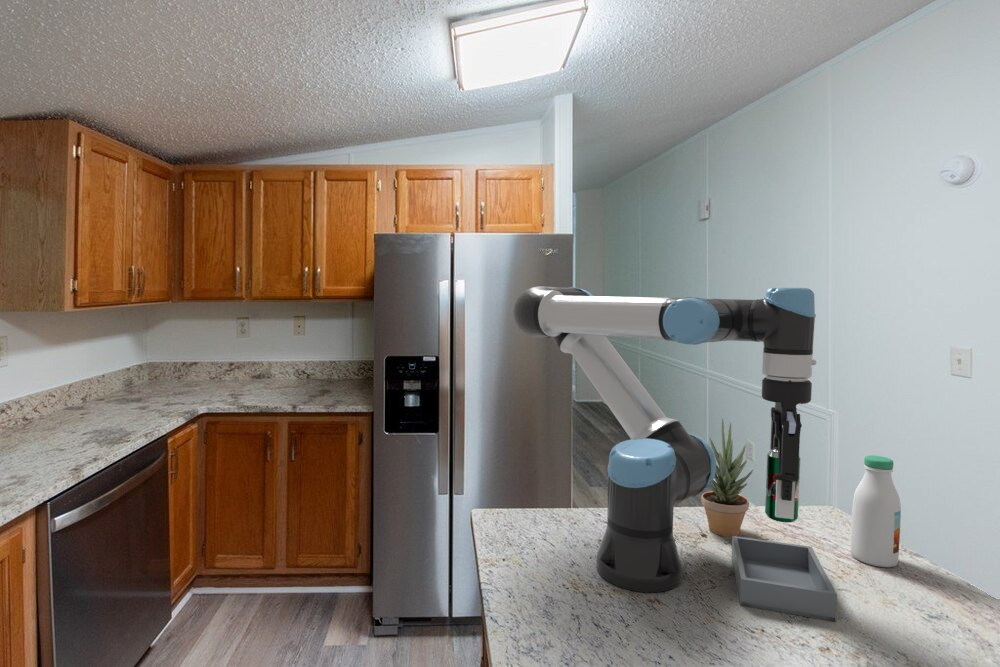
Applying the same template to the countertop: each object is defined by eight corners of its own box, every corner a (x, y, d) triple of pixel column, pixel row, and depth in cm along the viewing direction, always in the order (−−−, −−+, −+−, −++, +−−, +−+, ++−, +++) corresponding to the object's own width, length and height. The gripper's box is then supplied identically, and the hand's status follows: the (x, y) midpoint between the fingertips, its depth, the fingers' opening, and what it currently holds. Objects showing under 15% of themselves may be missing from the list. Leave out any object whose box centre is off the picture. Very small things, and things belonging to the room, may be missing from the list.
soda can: (802, 525, 91) (805, 454, 91) (769, 522, 92) (772, 452, 92) (792, 513, 96) (795, 447, 96) (761, 511, 97) (764, 445, 97)
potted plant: (719, 518, 125) (723, 412, 123) (757, 534, 117) (761, 420, 115) (689, 527, 120) (693, 416, 118) (726, 544, 112) (731, 425, 110)
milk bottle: (884, 572, 101) (889, 466, 100) (841, 554, 107) (846, 455, 106) (906, 563, 104) (912, 460, 103) (864, 547, 111) (869, 450, 110)
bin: (740, 605, 89) (741, 579, 89) (731, 557, 106) (732, 535, 105) (835, 621, 85) (836, 594, 84) (810, 569, 101) (811, 546, 101)
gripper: (824, 386, 83) (818, 535, 84) (800, 373, 100) (795, 496, 102) (770, 384, 86) (764, 528, 87) (756, 370, 103) (751, 491, 104)
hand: (781, 510), depth 94 cm, fingers closed on soda can, 5 cm apart
